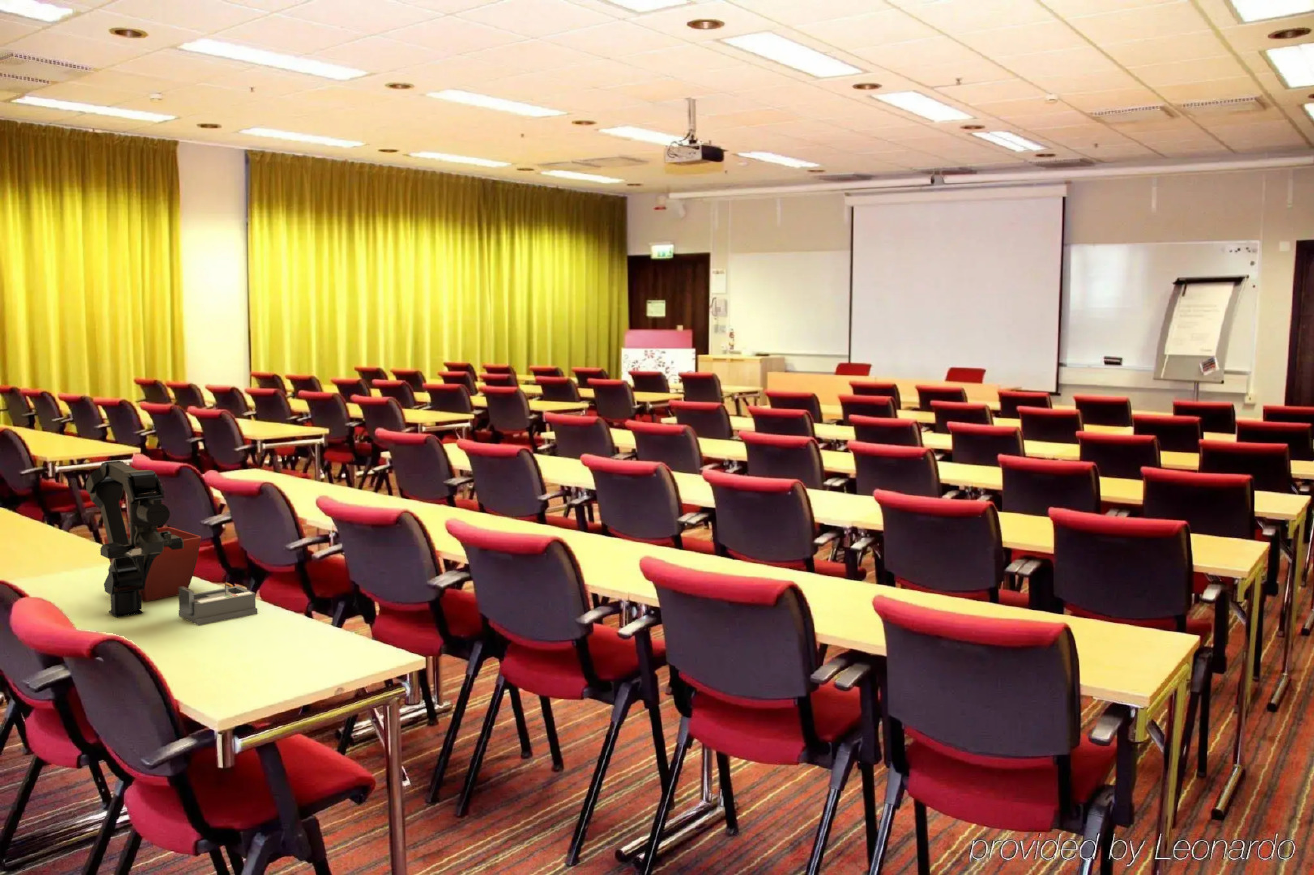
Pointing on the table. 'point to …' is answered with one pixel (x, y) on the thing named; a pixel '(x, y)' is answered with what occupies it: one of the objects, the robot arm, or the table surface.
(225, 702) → the table surface
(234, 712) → the table surface
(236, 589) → the gauge frame
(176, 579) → the plant pot
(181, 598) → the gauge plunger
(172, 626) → the table surface
